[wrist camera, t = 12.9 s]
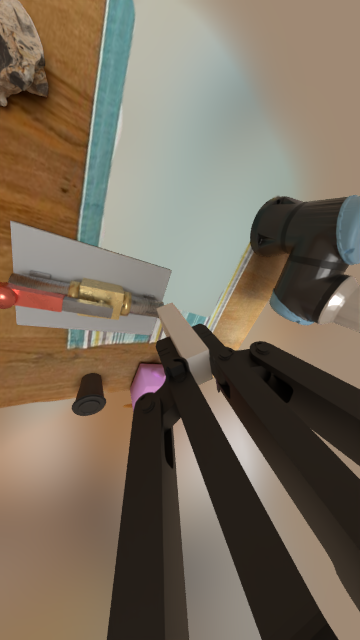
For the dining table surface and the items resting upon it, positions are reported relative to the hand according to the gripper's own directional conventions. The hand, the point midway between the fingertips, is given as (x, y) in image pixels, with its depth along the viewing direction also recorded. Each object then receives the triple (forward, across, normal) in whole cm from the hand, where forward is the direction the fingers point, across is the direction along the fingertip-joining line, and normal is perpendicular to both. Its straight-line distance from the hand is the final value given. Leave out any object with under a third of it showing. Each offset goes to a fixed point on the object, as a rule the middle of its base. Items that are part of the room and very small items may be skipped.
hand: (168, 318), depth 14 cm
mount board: (+29, -10, -5) cm, 31 cm away
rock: (+29, -6, +26) cm, 39 cm away
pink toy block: (+29, -8, -37) cm, 48 cm away
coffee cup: (+29, -25, -30) cm, 48 cm away
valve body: (+27, -10, -5) cm, 29 cm away
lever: (+21, -15, -1) cm, 26 cm away
